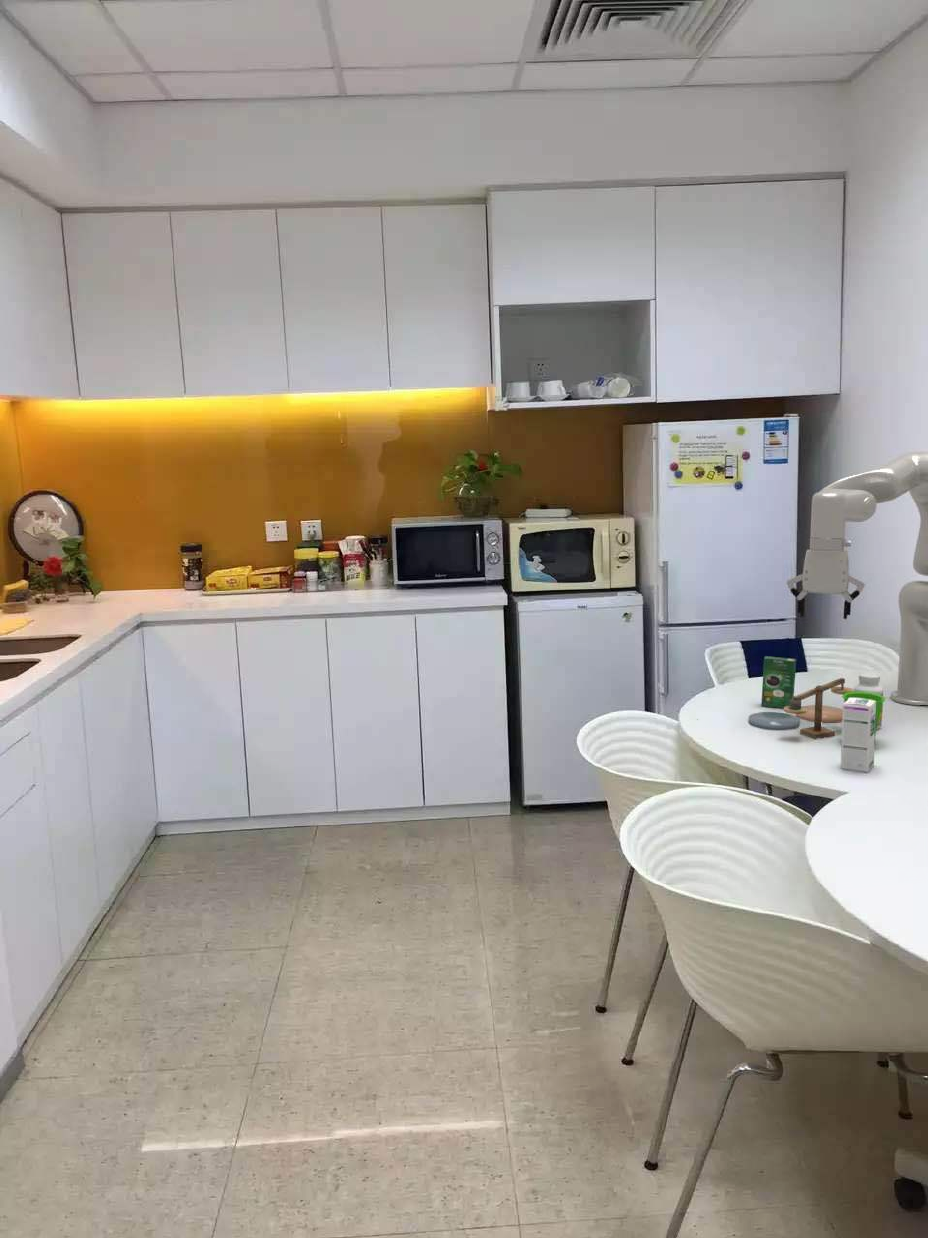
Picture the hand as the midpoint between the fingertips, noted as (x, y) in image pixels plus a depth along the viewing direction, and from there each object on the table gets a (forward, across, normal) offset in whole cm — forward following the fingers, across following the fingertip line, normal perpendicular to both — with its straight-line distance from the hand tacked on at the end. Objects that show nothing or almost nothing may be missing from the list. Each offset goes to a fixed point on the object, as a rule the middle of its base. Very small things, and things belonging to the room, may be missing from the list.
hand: (823, 617), depth 238 cm
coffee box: (+27, +11, -16) cm, 33 cm away
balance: (+27, 0, +7) cm, 28 cm away
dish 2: (+27, 0, -10) cm, 29 cm away
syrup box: (+27, -9, +28) cm, 40 cm away
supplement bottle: (+27, -11, -4) cm, 30 cm away
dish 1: (+27, +10, 0) cm, 29 cm away
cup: (+27, -10, +10) cm, 31 cm away
